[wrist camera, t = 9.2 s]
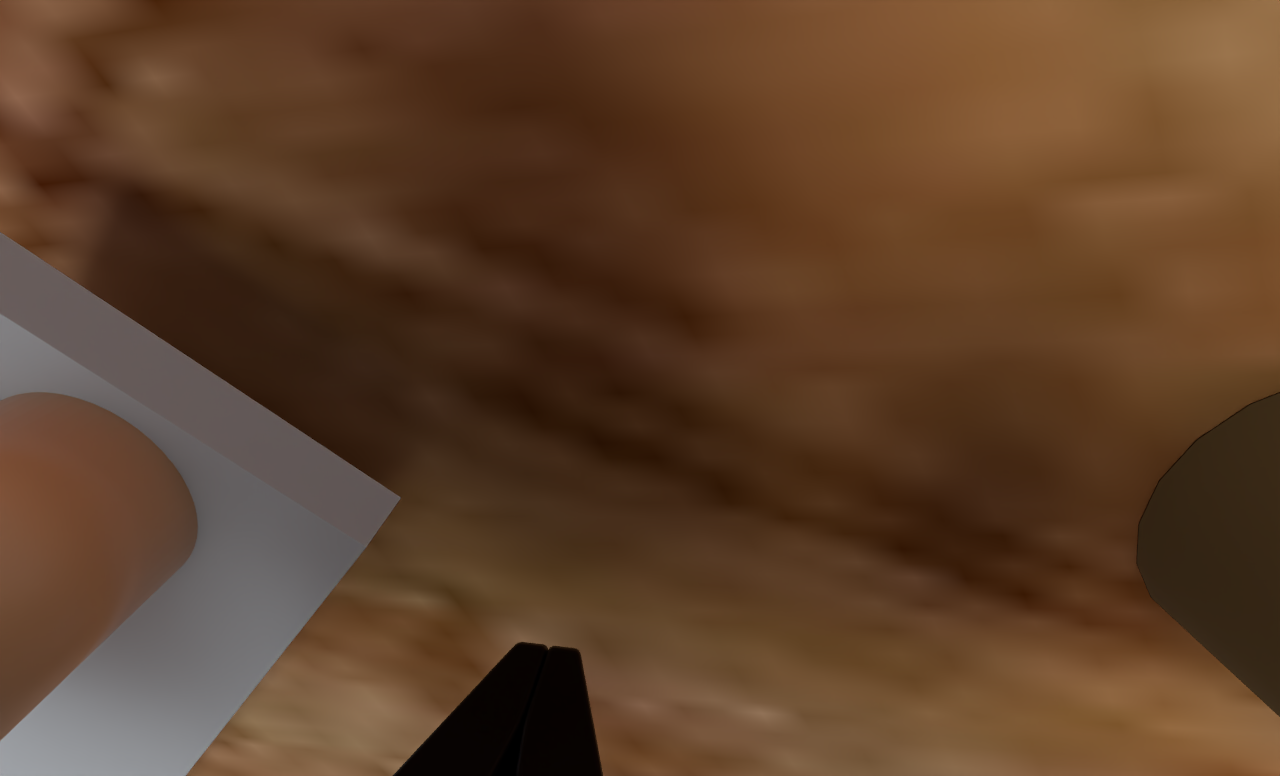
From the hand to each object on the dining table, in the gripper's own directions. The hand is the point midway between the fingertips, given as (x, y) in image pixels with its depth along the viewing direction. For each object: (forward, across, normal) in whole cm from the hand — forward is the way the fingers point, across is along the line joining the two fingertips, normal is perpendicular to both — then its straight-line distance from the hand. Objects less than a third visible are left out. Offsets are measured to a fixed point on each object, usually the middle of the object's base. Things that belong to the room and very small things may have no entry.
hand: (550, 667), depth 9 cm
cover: (+2, +11, +4) cm, 12 cm away
